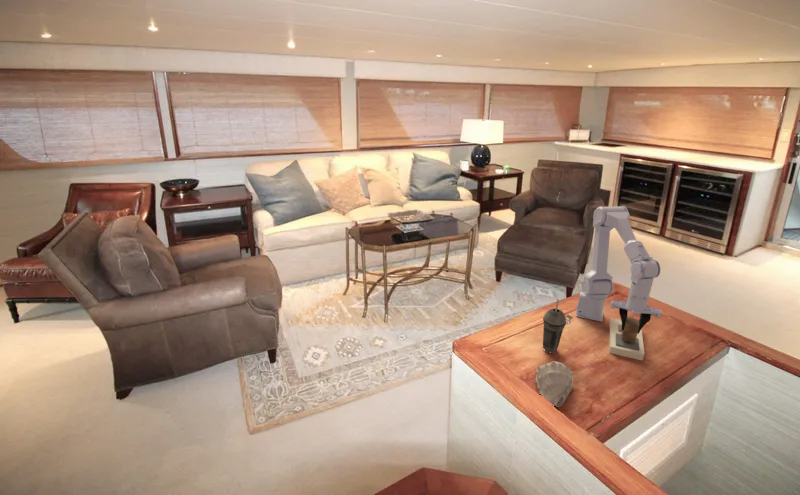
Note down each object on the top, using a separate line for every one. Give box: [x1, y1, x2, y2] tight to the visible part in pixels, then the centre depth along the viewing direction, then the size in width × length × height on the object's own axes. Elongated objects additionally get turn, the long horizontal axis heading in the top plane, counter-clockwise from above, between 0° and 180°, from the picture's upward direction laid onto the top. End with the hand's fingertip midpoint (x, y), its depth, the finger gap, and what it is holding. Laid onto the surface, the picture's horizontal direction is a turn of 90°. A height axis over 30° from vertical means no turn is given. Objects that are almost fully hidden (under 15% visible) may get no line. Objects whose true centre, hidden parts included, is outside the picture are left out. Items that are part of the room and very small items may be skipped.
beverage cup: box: [542, 298, 567, 354], centre depth 139 cm, size 7×7×20 cm
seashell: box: [535, 360, 574, 408], centre depth 121 cm, size 12×14×10 cm
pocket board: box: [608, 318, 645, 361], centre depth 147 cm, size 10×20×2 cm, turn 155°
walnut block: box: [621, 316, 639, 343], centre depth 141 cm, size 4×4×7 cm
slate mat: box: [616, 333, 639, 351], centre depth 142 cm, size 7×7×1 cm
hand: (630, 330), depth 141 cm, fingers closed on walnut block, 4 cm apart
